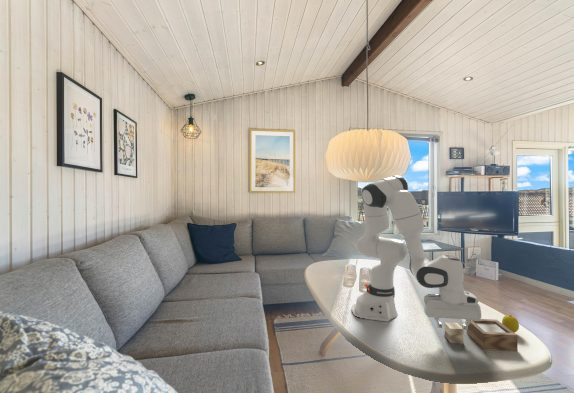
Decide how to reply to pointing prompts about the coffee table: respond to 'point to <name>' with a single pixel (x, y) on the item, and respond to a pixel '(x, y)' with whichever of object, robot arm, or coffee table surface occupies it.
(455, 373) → the coffee table surface
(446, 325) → the ash block
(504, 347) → the walnut frame
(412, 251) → the robot arm
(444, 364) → the coffee table surface
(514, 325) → the lemon
